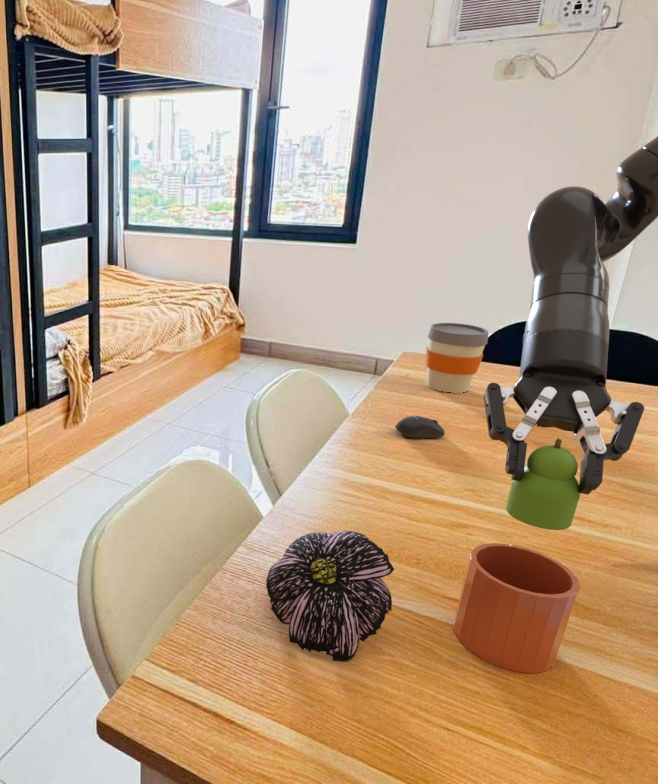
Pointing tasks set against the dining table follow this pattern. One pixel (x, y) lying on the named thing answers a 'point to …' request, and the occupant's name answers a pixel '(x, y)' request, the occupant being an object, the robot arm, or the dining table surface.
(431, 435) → the computer mouse
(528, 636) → the terracotta cup
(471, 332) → the reusable coffee cup
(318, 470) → the dining table surface
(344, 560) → the decorative flower
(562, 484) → the green pear
